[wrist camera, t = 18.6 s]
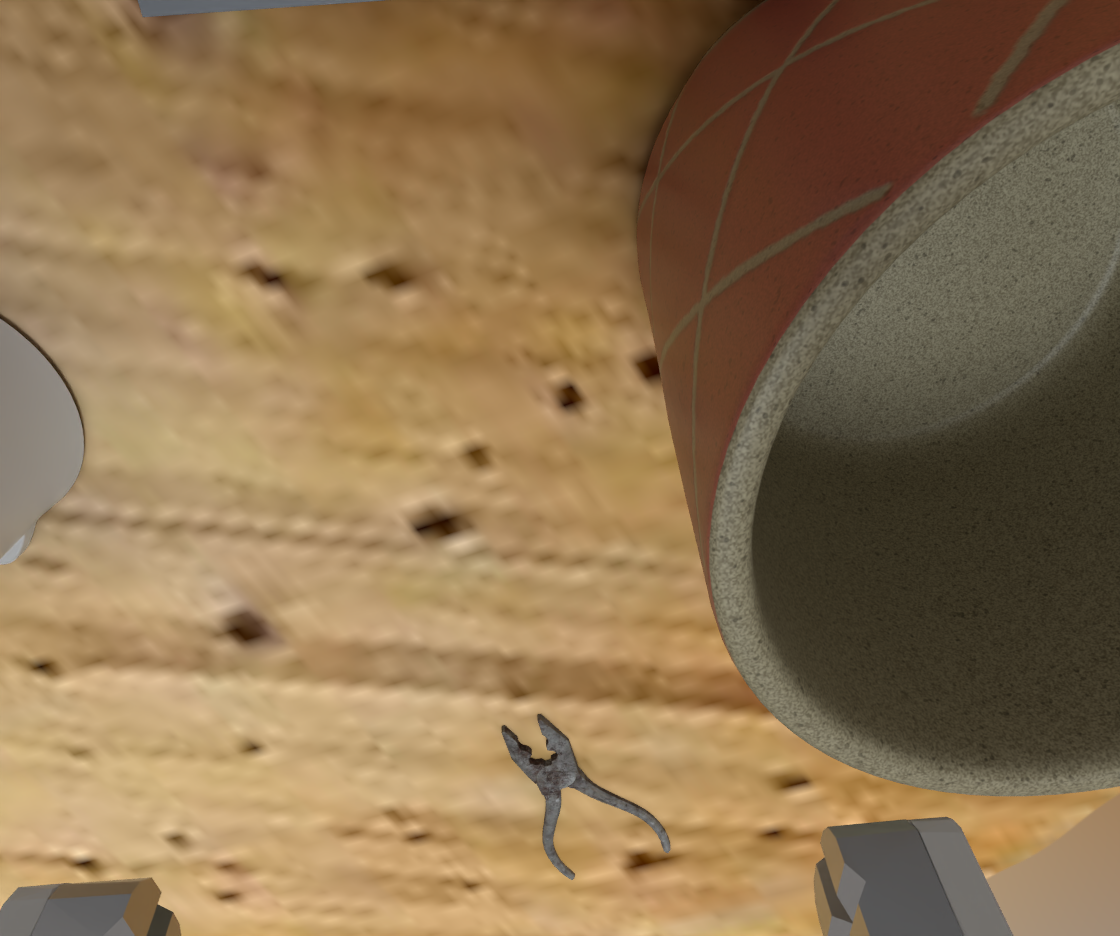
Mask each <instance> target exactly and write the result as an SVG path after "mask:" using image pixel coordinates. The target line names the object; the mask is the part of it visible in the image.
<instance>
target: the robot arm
mask: <svg viewBox="0 0 1120 936" xmlns="http://www.w3.org/2000/svg"><path fill="white" fill-rule="evenodd" d="M83 455H84V436H83V429H82V424H81V420H80V417H79V413H78V410H77V408H76V405H75V403H74V401H73V399H72V396H71V394H70V392H69V391H68V389H67V387H66V385H65V384H64V382H63V381H62V379H61V378H60V376H59V375H58V373H57V372H56V371H55V369H54V368H53V367H52V365H51V364H50V363H49V362H48V361H47V359H46V358H45V357H44V356H43V355H42V354H41V353H40V352H39V351H38V350H37V349H36V348H35V347H34V346H33V345H32V344H31V343H30V342H29V341H28V340H27V339H26V338H25V337H23V336H22V335H21V334H20V333H19V332H18V331H16V330H15V329H14V328H12V327H11V326H10V325H8V324H7V323H6V322H4V321H3V320H1V319H0V564H9V563H11V562H13V561H15V560H16V559H17V558H18V557H19V556H20V555H21V554H22V553H23V552H24V551H25V550H26V548H27V547H28V545H29V543H30V541H31V539H32V535H33V532H34V529H35V525H36V522H37V520H38V519H39V518H40V517H41V516H42V515H43V514H44V513H45V512H47V511H48V510H49V509H50V508H51V507H52V506H54V505H55V504H56V503H57V502H58V501H60V500H61V499H62V498H63V497H64V496H65V495H66V493H67V492H68V491H69V490H70V488H71V487H72V485H73V484H74V482H75V480H76V479H77V476H78V474H79V471H80V469H81V465H82V461H83ZM820 844H821V847H822V850H823V853H824V858H823V859H822V860H821V861H819V862H818V863H817V864H816V868H815V875H814V892H815V904H816V908H817V913H818V918H819V923H820V926H821V930H822V933H823V936H1013V934H1012V932H1011V930H1010V928H1009V926H1008V924H1007V921H1006V920H1005V918H1004V915H1003V913H1002V911H1001V909H1000V907H999V905H998V903H997V901H996V899H995V897H994V895H993V893H992V891H991V889H990V887H989V885H988V883H987V880H986V878H985V876H984V874H983V872H982V870H981V868H980V866H979V864H978V862H977V860H976V858H975V856H974V854H973V852H972V850H971V848H970V846H969V843H968V841H967V839H966V837H965V835H964V833H963V831H962V829H961V827H960V826H959V825H958V824H957V823H956V822H955V821H954V820H953V819H951V818H948V817H939V818H926V819H914V820H895V821H885V822H874V823H864V824H853V825H843V826H832V827H827V828H826V829H824V830H823V833H822V837H821V842H820ZM160 895H161V891H160V889H159V888H158V886H157V885H156V883H155V882H154V880H153V879H152V878H139V879H126V880H112V881H99V882H86V883H63V884H51V885H40V886H29V887H18V888H17V890H16V891H15V892H14V893H13V894H12V895H11V896H10V897H9V898H8V900H7V901H6V902H5V903H4V904H3V906H2V908H1V910H0V936H181V930H180V925H179V922H178V920H177V918H176V917H175V915H174V913H173V912H172V911H170V910H168V909H166V908H164V907H162V906H160V905H158V901H159V898H160Z"/></svg>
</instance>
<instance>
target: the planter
mask: <svg viewBox="0 0 1120 936" xmlns="http://www.w3.org/2000/svg"><path fill="white" fill-rule="evenodd" d="M637 253H638V264H639V272H640V279H641V284H642V288H643V293H644V297H645V301H646V306H647V310H648V314H649V319H650V324H651V328H652V333H653V338H654V343H655V348H656V353H657V358H658V364H659V369H660V375H661V381H662V386H663V392H664V398H665V403H666V409H667V415H668V420H669V425H670V429H671V434H672V439H673V443H674V447H675V452H676V456H677V461H678V465H679V470H680V474H681V478H682V483H683V487H684V492H685V496H686V500H687V505H688V509H689V513H690V517H691V521H692V526H693V530H694V534H695V538H696V542H697V546H698V551H699V555H700V559H701V563H702V567H703V572H704V576H705V581H706V585H707V590H708V594H709V599H710V603H711V607H712V610H713V613H714V616H715V619H716V622H717V625H718V628H719V631H720V634H721V637H722V640H723V642H724V644H725V646H726V648H727V650H728V653H729V655H730V657H731V659H732V661H733V662H734V664H735V666H736V667H737V669H738V671H739V672H740V674H741V676H742V677H743V679H744V680H745V682H746V683H747V685H748V686H749V687H750V688H751V690H752V691H753V692H754V694H755V695H756V696H757V698H758V699H759V700H760V701H761V703H762V704H763V705H764V706H765V707H766V708H767V709H768V710H769V711H770V712H771V713H772V714H773V715H774V716H775V717H776V718H777V719H778V720H779V721H780V722H781V723H783V724H784V725H785V726H786V727H787V728H788V729H790V730H791V731H792V732H793V733H794V734H796V735H797V736H799V737H800V738H801V739H803V740H804V741H806V742H807V743H808V744H810V745H811V746H813V747H815V748H816V749H818V750H820V751H822V752H823V753H825V754H827V755H828V756H830V757H832V758H834V759H836V760H838V761H840V762H843V763H845V764H847V765H849V766H851V767H853V768H856V769H858V770H861V771H864V772H866V773H869V774H872V775H874V776H877V777H881V778H884V779H887V780H891V781H894V782H897V783H902V784H906V785H910V786H915V787H919V788H924V789H930V790H936V791H942V792H949V793H959V794H969V795H985V796H1038V795H1056V794H1065V793H1075V792H1085V791H1092V790H1099V789H1105V788H1112V787H1118V786H1120V0H765V1H763V2H762V3H760V4H759V5H757V6H756V7H755V8H753V9H752V10H751V11H749V12H748V13H747V14H745V15H744V16H743V17H742V18H741V19H739V20H738V21H737V22H736V23H735V24H734V25H732V26H731V27H730V28H729V29H728V30H727V31H726V32H725V33H724V34H723V35H722V36H721V37H720V38H719V39H718V40H717V41H716V42H715V43H714V45H713V46H712V47H711V48H710V49H709V50H708V51H707V53H706V54H705V55H704V57H703V58H702V60H701V61H700V62H699V64H698V65H697V67H696V69H695V70H694V72H693V73H692V75H691V76H690V78H689V80H688V81H687V83H686V84H685V86H684V88H683V89H682V91H681V93H680V94H679V96H678V98H677V99H676V101H675V103H674V104H673V106H672V108H671V110H670V112H669V114H668V116H667V118H666V120H665V122H664V124H663V126H662V128H661V130H660V133H659V135H658V137H657V139H656V142H655V144H654V147H653V150H652V153H651V156H650V159H649V162H648V165H647V169H646V173H645V176H644V180H643V185H642V190H641V195H640V201H639V209H638V218H637Z"/></svg>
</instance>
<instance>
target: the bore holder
mask: <svg viewBox="0 0 1120 936" xmlns="http://www.w3.org/2000/svg"><path fill="white" fill-rule="evenodd" d="M368 1H383V0H138V3H139V6H140V9H141V13H142V16H143V17H152V16H167V15H181V14H195V13H210V12H224V11H239V10H253V9H267V8H282V7H296V6H311V5H325V4H340V3H354V2H368Z"/></svg>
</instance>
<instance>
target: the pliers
mask: <svg viewBox="0 0 1120 936" xmlns="http://www.w3.org/2000/svg"><path fill="white" fill-rule="evenodd" d="M538 723H539V726H540V729H541V732H542V735H544V736H545V737H546V738H547V740H546V747H547V750H550V751H555V752H556V753H555V754H553V755H551V759H549V760H546V761H544V760H543V759H542V758H541V759H533V758H530V757H531V755H532V749H531V748H530V747H529V746H525V745H522V744H521V743H520V742H519V741H518V738H517V736H516V735H515V734H514V733H513V732H512V731H510V730H509V729H508V728H507V727H506V726H505V725H504V726H502V735H503V737H504V740H505V742H506V745H507V748H508V750H509V753H510V756H511V758H512V760H513V761H514V762H515V763H516V764H517V765H518V766H519V767H520V768H521V770H522V771H523V772H524V773H525V774H526V775H527V776H528V777H529V778H530V779H531V780H532V781H533V782H534V783H535V784H536V783H537V786H538V787H539V789H540V791H541V793H542V795H544V797H545V799H546V812H545V819H544V827H543V845H544V849H545V852H546V854H547V856H548V858H549V859H550V861H551V862H552V864H553V865H554V866H555V867H556V868H557V869H558V870H559V871H560V872H561V873H562V874H564V875H565V876H566V877H568V878H569V879H571V880H573V879H574V877H575V874H574V873H573V872H572V871H571V870H570V869H569V868H568V867H567V866H565V865H564V863H563V862H562V861H561V860H560V859H559V857H558V855H557V853H556V851H555V849H554V846H553V836H554V831H555V827H556V823H557V819H558V816H559V812H560V808H561V790H560V789H562V788H566V787H570V788H575V789H576V790H578V791H580V792H582V793H584V794H586V795H588V796H590V797H591V798H594V799H596V800H599V801H601V802H604V803H606V804H609V805H611V806H614V807H617V808H619V809H622V810H624V811H627V812H629V813H631V814H633V815H635V816H637V817H639V818H641V819H642V820H644V821H645V822H646V823H647V824H649V825H650V826H651V827H652V828H653V830H654V831H655V832H656V833H657V835H658V837H659V839H660V840H661V844H662V847H663V850H664V851H665V852H666V853H669V851H670V842H669V839H668V836H667V834H666V832H665V830H664V828H663V827H662V825H661V824H660V823H659V821H658V820H657V819H656V818H655V817H654V816H653V815H652V814H650V813H649V812H648V811H646V810H645V809H643V808H642V807H640V806H638V805H636V804H634V803H632V802H630V801H628V800H626V799H624V798H621V797H619V796H617V795H615V794H613V793H611V792H609V791H607V790H605V789H603V788H601V787H599V786H598V785H596V784H595V783H593V782H592V781H591V780H590V779H589V778H588V777H587V776H586V775H585V774H584V773H583V771H582V770H581V769H580V768H579V767H578V765H577V762H576V759H575V756H574V753H573V751H572V748H571V745H570V742H569V739H568V738H567V737H566V736H565V735H564V734H563V733H562V732H561V731H559V730H558V729H557V728H556V727H555V726H554V725H553V724H552V723H550V722H549V721H548V720H547V719H546V718H545V717H544V716H542V715H541V714H538Z"/></svg>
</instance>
